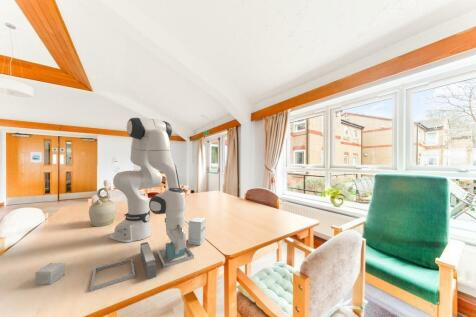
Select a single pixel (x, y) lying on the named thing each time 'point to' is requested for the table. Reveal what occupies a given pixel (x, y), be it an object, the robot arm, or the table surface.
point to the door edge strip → (148, 260)
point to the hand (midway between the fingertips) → (175, 250)
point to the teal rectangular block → (172, 252)
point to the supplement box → (196, 231)
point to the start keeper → (175, 260)
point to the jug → (102, 210)
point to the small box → (49, 273)
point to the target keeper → (94, 287)
